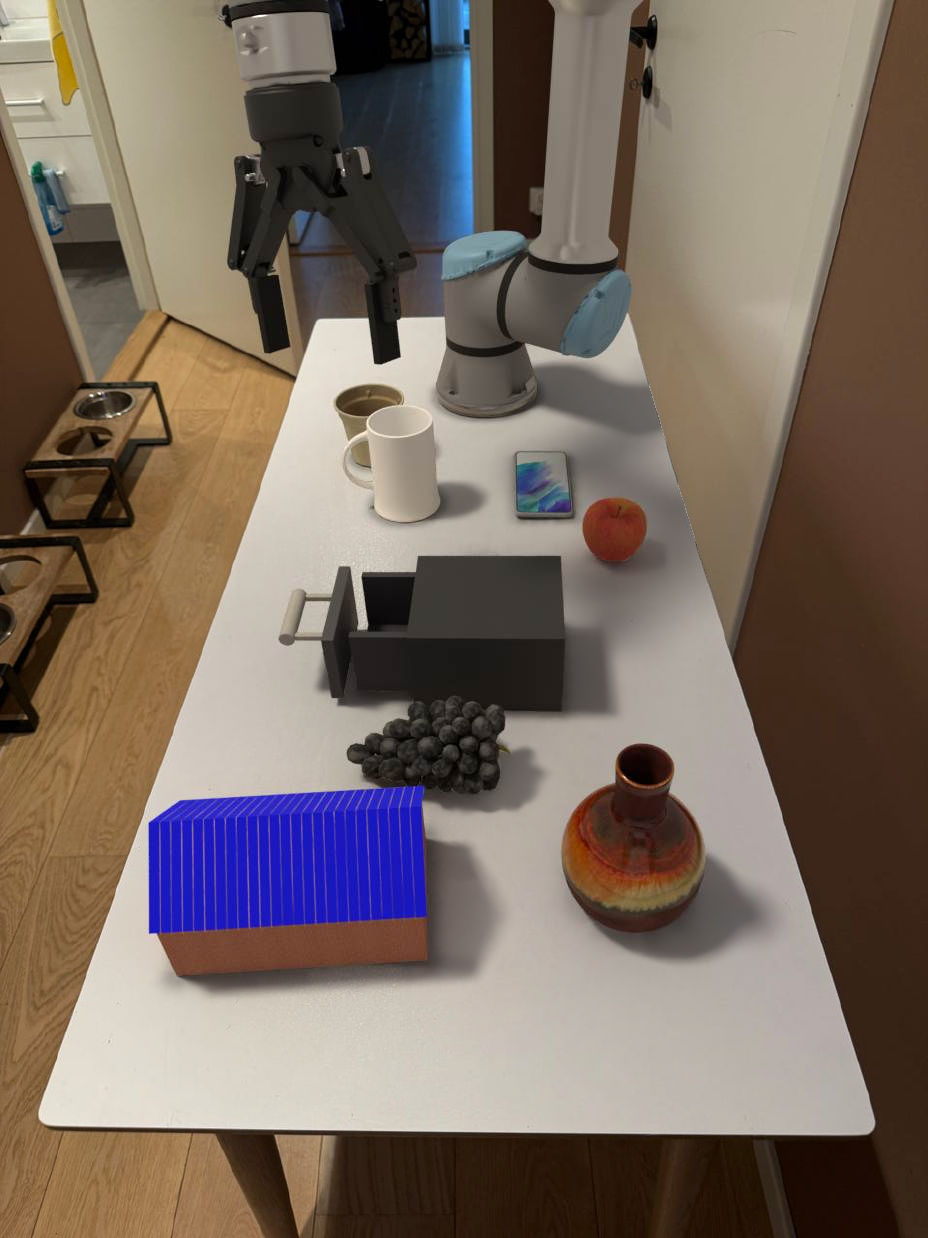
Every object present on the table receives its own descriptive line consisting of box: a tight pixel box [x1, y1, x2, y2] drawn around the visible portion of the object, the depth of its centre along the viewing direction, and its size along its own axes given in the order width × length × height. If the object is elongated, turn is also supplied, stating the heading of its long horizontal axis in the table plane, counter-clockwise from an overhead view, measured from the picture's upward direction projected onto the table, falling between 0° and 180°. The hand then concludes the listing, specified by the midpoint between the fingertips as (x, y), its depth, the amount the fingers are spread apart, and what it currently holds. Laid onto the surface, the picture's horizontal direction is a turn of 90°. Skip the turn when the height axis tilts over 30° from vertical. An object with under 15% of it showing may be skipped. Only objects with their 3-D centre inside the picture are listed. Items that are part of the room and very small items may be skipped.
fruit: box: [345, 696, 512, 795], centre depth 83 cm, size 9×8×15 cm
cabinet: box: [406, 555, 566, 712], centre depth 92 cm, size 15×13×10 cm
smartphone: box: [513, 450, 574, 518], centre depth 121 cm, size 7×1×15 cm
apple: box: [581, 496, 648, 562], centre depth 107 cm, size 7×7×8 cm
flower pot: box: [333, 382, 405, 468], centre depth 126 cm, size 9×9×9 cm
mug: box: [341, 404, 441, 523], centre depth 115 cm, size 12×8×12 cm
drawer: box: [278, 565, 416, 699], centre depth 93 cm, size 18×11×8 cm, turn 87°
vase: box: [560, 742, 707, 934], centre depth 70 cm, size 11×11×15 cm
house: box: [147, 785, 429, 977], centre depth 72 cm, size 12×20×12 cm, turn 93°
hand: (330, 355), depth 83 cm, fingers open, 13 cm apart
